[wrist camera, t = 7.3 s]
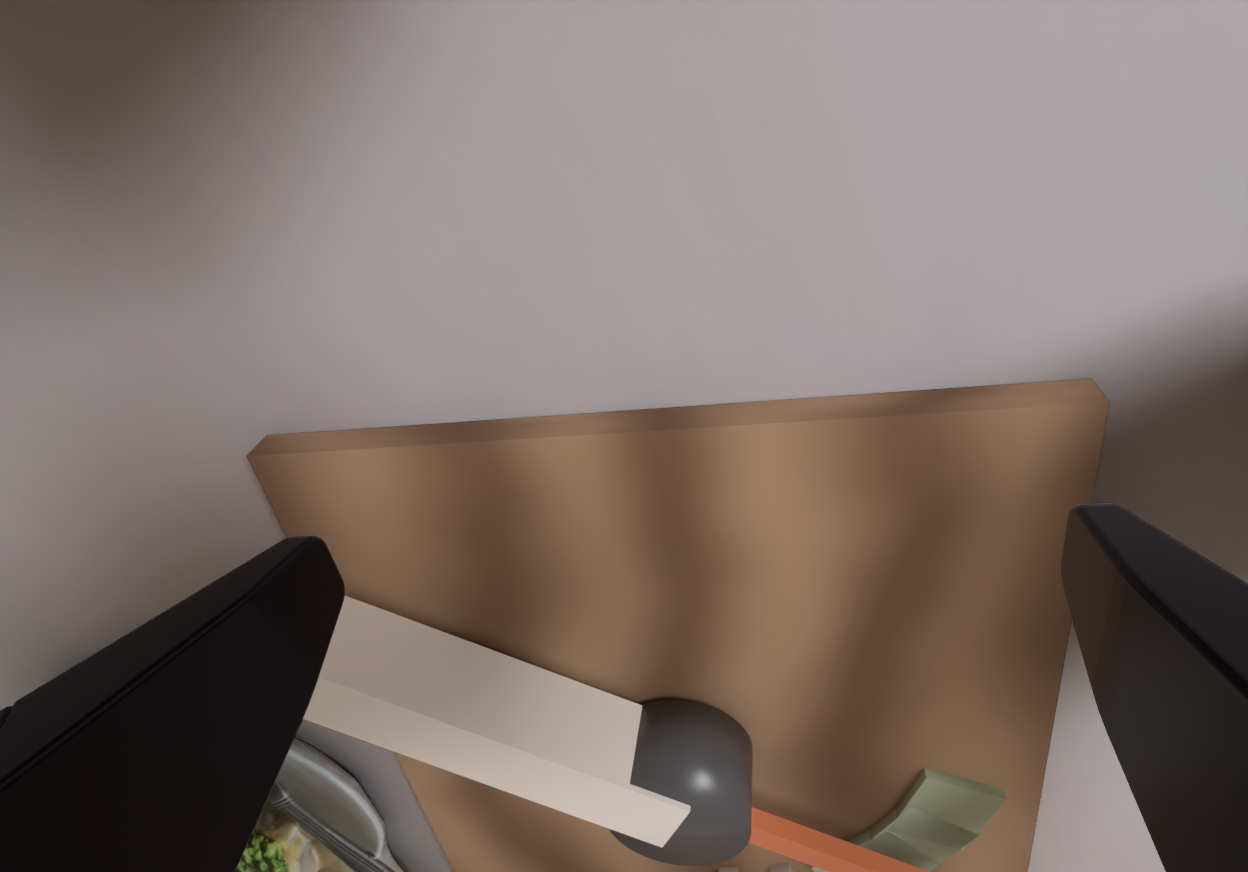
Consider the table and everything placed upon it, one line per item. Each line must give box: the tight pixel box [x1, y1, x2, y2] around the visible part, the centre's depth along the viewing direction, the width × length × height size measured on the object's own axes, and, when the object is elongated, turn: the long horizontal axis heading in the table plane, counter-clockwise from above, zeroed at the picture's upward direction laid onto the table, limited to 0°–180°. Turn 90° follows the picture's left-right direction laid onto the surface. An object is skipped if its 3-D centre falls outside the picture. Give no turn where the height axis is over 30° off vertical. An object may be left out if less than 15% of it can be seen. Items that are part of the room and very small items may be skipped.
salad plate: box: [235, 738, 404, 872], centre depth 36 cm, size 19×18×5 cm
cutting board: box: [247, 379, 1109, 872], centre depth 28 cm, size 24×25×2 cm
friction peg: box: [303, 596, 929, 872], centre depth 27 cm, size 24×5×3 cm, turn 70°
